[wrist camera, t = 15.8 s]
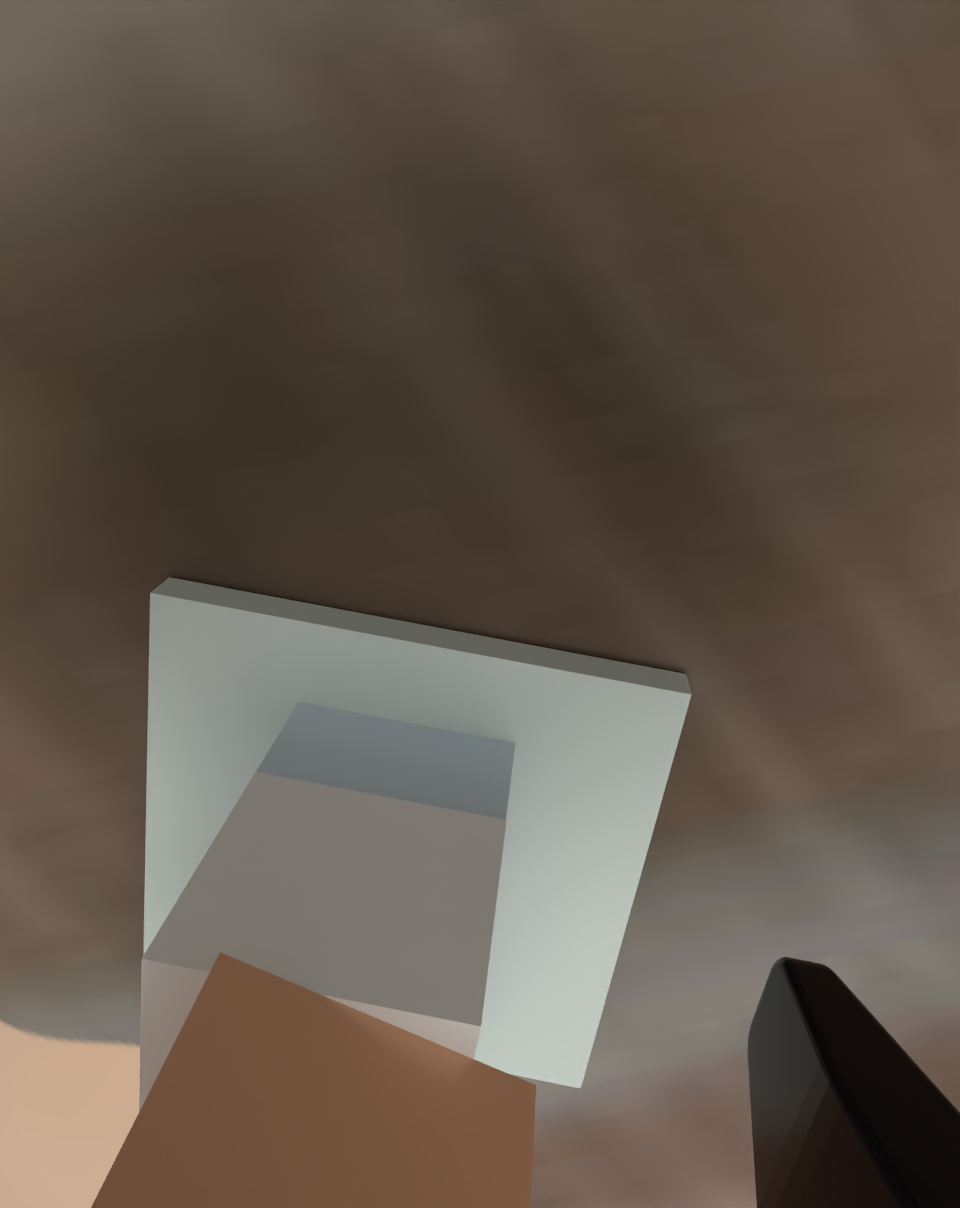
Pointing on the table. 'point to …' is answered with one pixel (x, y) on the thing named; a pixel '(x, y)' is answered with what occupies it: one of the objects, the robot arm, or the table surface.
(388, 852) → the ivory brick
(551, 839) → the baseplate
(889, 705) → the table surface
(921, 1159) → the robot arm
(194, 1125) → the terracotta brick
